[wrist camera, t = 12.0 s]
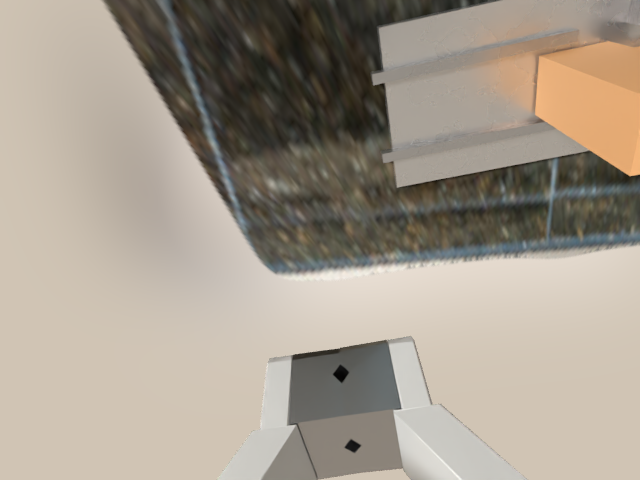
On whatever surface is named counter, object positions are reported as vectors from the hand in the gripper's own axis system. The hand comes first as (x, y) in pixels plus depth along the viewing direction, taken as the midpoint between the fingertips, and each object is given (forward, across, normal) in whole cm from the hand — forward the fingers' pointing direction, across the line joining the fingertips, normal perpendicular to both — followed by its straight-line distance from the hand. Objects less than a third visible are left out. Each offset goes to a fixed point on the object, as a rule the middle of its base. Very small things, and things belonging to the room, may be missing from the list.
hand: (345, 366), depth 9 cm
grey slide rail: (+29, -15, +4) cm, 33 cm away
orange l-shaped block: (+28, -22, +4) cm, 35 cm away
